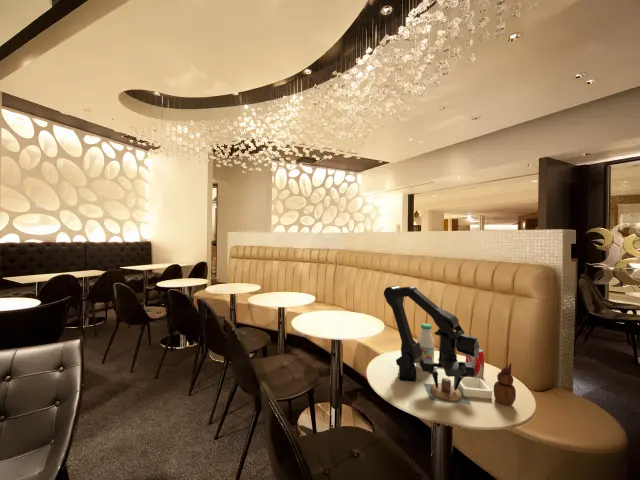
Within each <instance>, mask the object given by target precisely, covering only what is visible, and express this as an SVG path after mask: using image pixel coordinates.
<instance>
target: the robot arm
mask: <svg viewBox="0 0 640 480" xmlns="http://www.w3.org/2000/svg"><path fill="white" fill-rule="evenodd" d="M383 296H384V299H385V301H386V303H387V304H388V306H390V308H391V310H392V313H393V317H394V320H395V324H396V327H397V330H398V334H399V336H400V341H401V344H400V345H401V346H400V352H401V353H400V354H401V356H400V357H398V358H397V359H395V362H396V365H397V366H398V373H397V375H398V380H399V381H403V382H412V383H416V380H417V367H416V363H417V361H418V360H420V359H421V357H422V352H423V351H422V350H421V347H420V343H419V342H418V343H417V341H415V340H414V338H413V334H412V331H411V328H410V325H409V321H408V317H407V313H406V311H405V308H404V307H405V306H404V300H405V298H410V299H411V300H412V301H413V302H414V303H415V304H417V305H418V306H419V307H420V308H421V309H422V310H423V311H425V312H426V314H428V315H429V316H430V318H432V320H433V322H434V324H435V325H436V326H437V327H438V330H436V331H434V332H433V335H436V336H439V346H438V353H439V354H438V359H437V361H438V362H434V363H433V362H432V361H431V359H421V360H420V366H421V368H422V369H421V371H422V372H424V373H429V374H430V375H432V379H433V383H434V384H435V386H436V388H437V389H438V383H439V380H438V379H439V377H438V376H439V372H438V371H437V369H440V370H443V371H444V374H445V376H446V377H448V378H449V377H454V379H453V386H454V389H455V390H457V388H458V385H459V383H460V381H461V380H462V379H463V378H464V377H470V376H475V368H474V367H473V366H472V365H471V364H470V363H469V362H466V361H458V357H457V351H458V353H459V354H463V355H465V356H466V355H470V356H473V357H477V356H478V353H479V348H480V344H479V341H478V337H476V336H472V335H466V334H465V331H464V329H463V328H462V327H461V325H460V322H459V321H460V320H459V318H457V316H455V315H454V314H452V313H451V312H449V311H448V310H446V309H443V308H441V307H439V306H438V305H436V303H434V302H433V301H431V299H429V298H428V297H427V296H425V295H424V293H422V292H421V291H420V290H418V288H417V287H416V286H414V285H411V286H403V287H400V286H399V285H392V286H388V287H386V288H385V289H384V291H383ZM468 375H469V376H468Z"/></svg>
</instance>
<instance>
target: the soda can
mask: <svg viewBox="0 0 640 480" xmlns="http://www.w3.org/2000/svg"><path fill="white" fill-rule="evenodd" d="M465 362H469V363H470V364H471V365H472V366H473V367H474V368H475V376H469V375H468V377H475V378H481V379H482V378H484V373H485V372H484V371H485V353H484V350H483V349H482V348H481V347H479V353H478V356H477V357H473V356H470V355H466V354H465Z"/></svg>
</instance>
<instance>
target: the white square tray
mask: <svg viewBox="0 0 640 480" xmlns="http://www.w3.org/2000/svg"><path fill="white" fill-rule="evenodd" d="M458 389H459V390H460V391H461V393H462V395H463V396H466V397H467V398H477V399H478V398H479V399H485V400H486V399H487V400H492V398H493V391H492V389H491V388H490V387H489V386H488V385H487V384H486V382H485V381H484V380H483V379H482V378H475V377H470V376H468V377H464V378H463V379H462V380H461V381H460V383H459V385H458Z"/></svg>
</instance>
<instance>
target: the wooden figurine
mask: <svg viewBox="0 0 640 480" xmlns="http://www.w3.org/2000/svg"><path fill="white" fill-rule="evenodd" d="M496 376H497V377H496V379H497V381H495V383H494V384H493V396H494V399H495V401H496V402H497V403H498V404H500V405H504V406H506V407H507V406H509V407H510V406H512V405H513V404H514V403H515V401H516V397H517V393H516V392H517V391H516V387H515V386H514V377H513V374H512V362H510V363H509V365H508V364H505V367H504V366H503V368H501V370H500V371H499V372H498V373H497V375H496Z"/></svg>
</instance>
